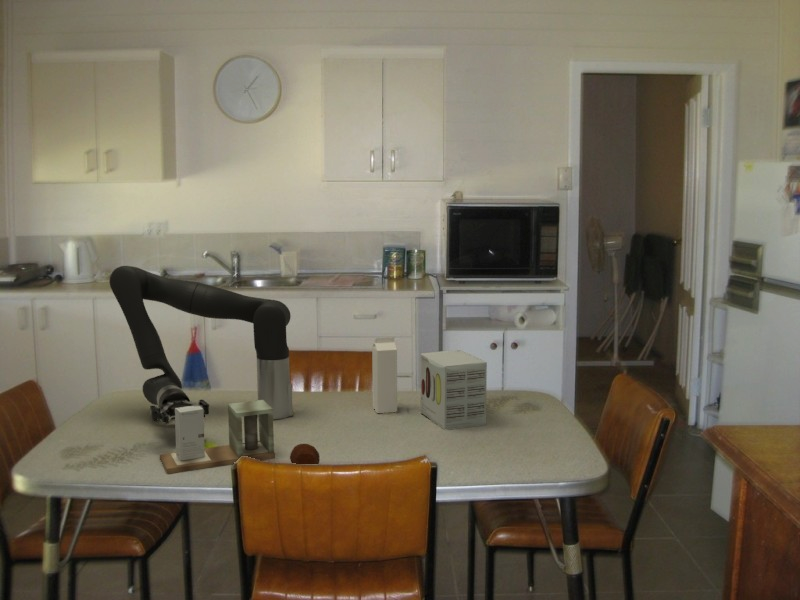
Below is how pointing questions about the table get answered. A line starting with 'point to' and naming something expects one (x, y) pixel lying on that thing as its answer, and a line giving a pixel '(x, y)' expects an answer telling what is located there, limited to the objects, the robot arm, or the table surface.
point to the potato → (304, 454)
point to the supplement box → (453, 389)
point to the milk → (384, 375)
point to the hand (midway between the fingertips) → (185, 417)
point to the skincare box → (189, 432)
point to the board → (234, 439)
